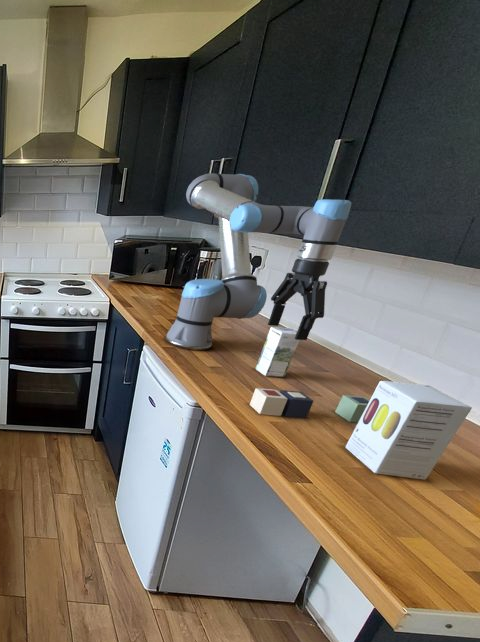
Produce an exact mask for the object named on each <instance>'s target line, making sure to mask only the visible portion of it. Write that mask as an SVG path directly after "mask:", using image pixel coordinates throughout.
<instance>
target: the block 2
mask: <svg viewBox="0 0 480 642" xmlns="http://www.w3.org/2000/svg"><path fill="white" fill-rule="evenodd" d="M279 392H280V393H281V394H282V395H284V396H285V397H286V398H287V402H286V404H285V407H284V409H283V412H282V414H281V415H283V417H287V418H300V419H307V417H308V415H309V413H310V410H311V408H312V406H313V404H314V399H312V398H311V397H309V396H308V395H306V394H305V393H304V392H302V391H298V390H297V391H295V390H287V389H285V390H284V389H280V390H279Z"/></svg>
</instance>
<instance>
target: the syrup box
mask: <svg viewBox="0 0 480 642" xmlns="http://www.w3.org/2000/svg"><path fill="white" fill-rule="evenodd" d="M297 331H298V330H296V329H294V328H290V327H279V326H270V329H269V331H268V334H267V336H266V339H265V342H264V344H263V347H262V350H261V352H260V356H259V357H258V360H257V363H256V366H255V370H256V371H257V372H259V373H261V375H263V376H264V377H272V378H273V377H274V378H285V377H286V374H287V372H288V369H289V368H290V365H291V362H292V359H293V357H294V354H295V352H296V350H297V347H298V345H299V343H300V340H296V339H295V336H296V333H297Z"/></svg>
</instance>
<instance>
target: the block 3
mask: <svg viewBox="0 0 480 642" xmlns="http://www.w3.org/2000/svg"><path fill="white" fill-rule="evenodd" d="M369 401H370V399H369V398H367V397H365V396H361V395H360V396H358V395H347V394H343V395H342V396H341V399H340V401H339V403H338V404H337V407H336V409H335V411H334V412H335V413H336V414H337V415H339V416H340V417H341V418H343V419H344V420H345V421H347V422H349V423H356V424H358V422H359V420H360V418H361V416H362V414H363V412H364V411H365V409H366V407H367V405H368V403H369Z"/></svg>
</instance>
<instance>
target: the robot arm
mask: <svg viewBox="0 0 480 642" xmlns="http://www.w3.org/2000/svg"><path fill="white" fill-rule="evenodd" d="M258 195H259V184H258V181H257V179H256V178H255V177H254V176H252V175H249V174H244V173H237V174H232V173H231V174H229V173H215V172H214V173H205V174H202V175H199V176H198V177H196V178H195V179H193V180H192V181H191V182H190V183H189V185H188V187H187V189H186V193H185V197H186V201H187V203H188V204H189V205H190V206H192V207H193V208H195V209H198V210H206V211H208V212H210V213H212V214H213V217H214V218H216V219H217V220H218V231H219V245H220V248H219V249H220V261H221V264H220V265H221V279H215V278H197V279H191V280H189V281H187V282H186V283H185V285H184V287H183V290H182V293H181V296H180V297H181V298H180V302H179V305H178V309H177V314H176V318H175V320H174V322H173V324H172V325H171V327H170V328H169V329H168V332H167V333H166V336H165V338H164V339H165V341H166V342H167V343H168V344H169V345H172V346H174V347H177V348H180V349H185V350H190V351H208V350H210V349H211V348H212V345H213V336H212V335H213V334H212V325H213V321H214V318H225V319H239V320H241V319H251V318H254V317H256V316H257V315H258V314H260V313H261V311H263V308H264V307H265V305H266V302H267V298H268V297H267V296H268V295H267V293H268V292H267V289H266V288H265V287H264V286H262V285H259V284H258V279H257V277H256V276H255V275H254V274H252V272H251V271H252V270H251V269H252V268H251V257H250V242H249V233H257V234H258V233H262V234H284V235H286V234H287V235H299V236H300V235H301V236H303V238H302V240H301V244H300V247H299V248H298V252H297V257H298V258H296V259H295V260H294V263H293V266H292V269H291V272H287V273H286V274H285V277H284V280H283V281H282V282H281V283H280V285H279V286H278V287H277V289H276V290H275V292H274V293H273V295H272V296H271V297H270V301H272V302H273V307H272V310H271V313H270V317H269V319H268V323H267V326H270V327H279V325H280V322H281V320H282V316H283V314H284V311H285V308H286V304H287V302H288V301H289V300H290V299H292V297H293V296H294V295H295V294H297V293H298V294H300V296H301V297H302V299H303V300H302V301H303V305H304V315H303V316H302V318H301V321H300V323H299V326H298V328H297V330H296V331H297V333H296V336H295V339H296V340H299V341H307V339H308V337H309V335H310V332H311V330H312V329H313V327H314V324H315V321H316V320H317V319H323V318H324V317H325V302H326V301H325V300H326V289H327V286H328V281H327V280H326V281H325V280H320V277H323V276H325V275H326V273H327V271H328V268H329V266H330V262H329V261H330V260H332V258H333V256H334V254H335V250H336V247H337V244H338V242H339V239H340V237H341V234H342V233H343V229H344V227H345V225H346V223H347V220H348V218H349V214H350V211H351V207H352V202H351V201H350V200H348V199H328V198H327V199H318V200H316V201H315V203H314V206H301V205H271V204H269V205H268V204H261V203H259V202H256V201H257V198H258V197H257V196H258Z"/></svg>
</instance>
